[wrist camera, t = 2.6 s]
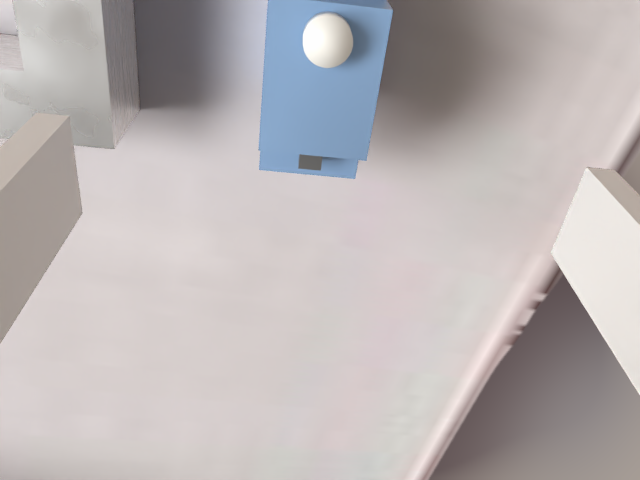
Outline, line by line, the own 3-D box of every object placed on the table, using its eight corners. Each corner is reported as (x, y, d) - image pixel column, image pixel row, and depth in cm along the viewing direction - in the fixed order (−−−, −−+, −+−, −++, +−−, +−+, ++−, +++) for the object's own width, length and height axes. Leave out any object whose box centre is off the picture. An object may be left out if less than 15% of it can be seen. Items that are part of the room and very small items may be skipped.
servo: (347, 130, 32) (360, 211, 24) (265, 122, 31) (254, 202, 24) (378, -74, 26) (407, -49, 19) (279, -87, 26) (271, -67, 18)
